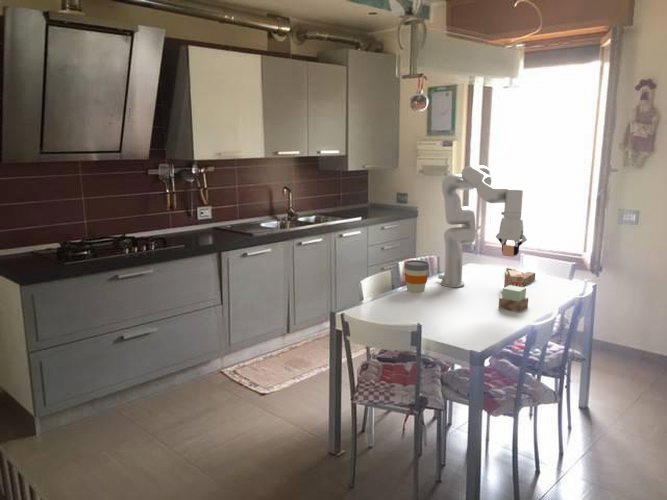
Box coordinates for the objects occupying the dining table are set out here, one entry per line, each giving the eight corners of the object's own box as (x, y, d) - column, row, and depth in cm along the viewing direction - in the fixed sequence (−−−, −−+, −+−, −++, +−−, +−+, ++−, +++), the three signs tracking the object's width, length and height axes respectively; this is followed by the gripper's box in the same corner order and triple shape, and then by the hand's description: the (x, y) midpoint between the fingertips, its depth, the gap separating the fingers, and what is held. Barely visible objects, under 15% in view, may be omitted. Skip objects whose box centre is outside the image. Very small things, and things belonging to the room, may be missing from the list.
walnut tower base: (498, 308, 259) (499, 298, 258) (507, 303, 266) (508, 294, 265) (518, 313, 252) (519, 302, 251) (527, 308, 260) (528, 298, 259)
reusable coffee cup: (418, 286, 295) (420, 259, 292) (432, 292, 284) (433, 264, 281) (399, 289, 290) (400, 261, 287) (412, 295, 279) (413, 266, 275)
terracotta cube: (502, 255, 256) (503, 244, 255) (507, 253, 260) (507, 243, 259) (512, 256, 253) (513, 246, 252) (517, 255, 256) (517, 244, 255)
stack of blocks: (503, 288, 293) (505, 265, 291) (515, 288, 292) (517, 266, 290) (509, 299, 273) (510, 275, 270) (522, 300, 272) (524, 276, 269)
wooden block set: (536, 270, 310) (525, 277, 296) (535, 280, 311) (524, 287, 297) (507, 266, 320) (495, 271, 306) (506, 275, 321) (494, 281, 307)
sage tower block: (502, 298, 258) (502, 288, 257) (508, 295, 264) (509, 285, 263) (518, 301, 253) (519, 291, 252) (525, 298, 259) (526, 288, 258)
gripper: (491, 214, 255) (489, 252, 259) (527, 217, 244) (524, 257, 248) (498, 212, 261) (496, 250, 264) (533, 216, 250) (531, 255, 253)
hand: (510, 253), depth 256 cm, fingers closed on terracotta cube, 5 cm apart
